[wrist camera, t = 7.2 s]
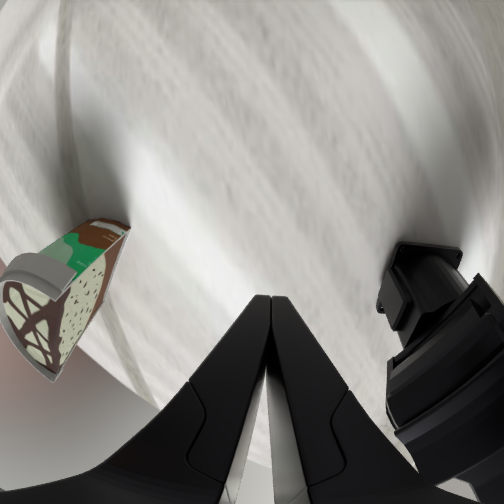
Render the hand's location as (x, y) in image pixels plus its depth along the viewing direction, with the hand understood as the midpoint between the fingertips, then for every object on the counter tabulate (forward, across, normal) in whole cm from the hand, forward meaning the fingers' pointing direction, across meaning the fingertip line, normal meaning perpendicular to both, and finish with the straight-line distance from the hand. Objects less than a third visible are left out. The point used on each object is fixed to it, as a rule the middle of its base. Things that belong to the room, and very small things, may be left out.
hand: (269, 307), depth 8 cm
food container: (+12, +16, +6) cm, 21 cm away
